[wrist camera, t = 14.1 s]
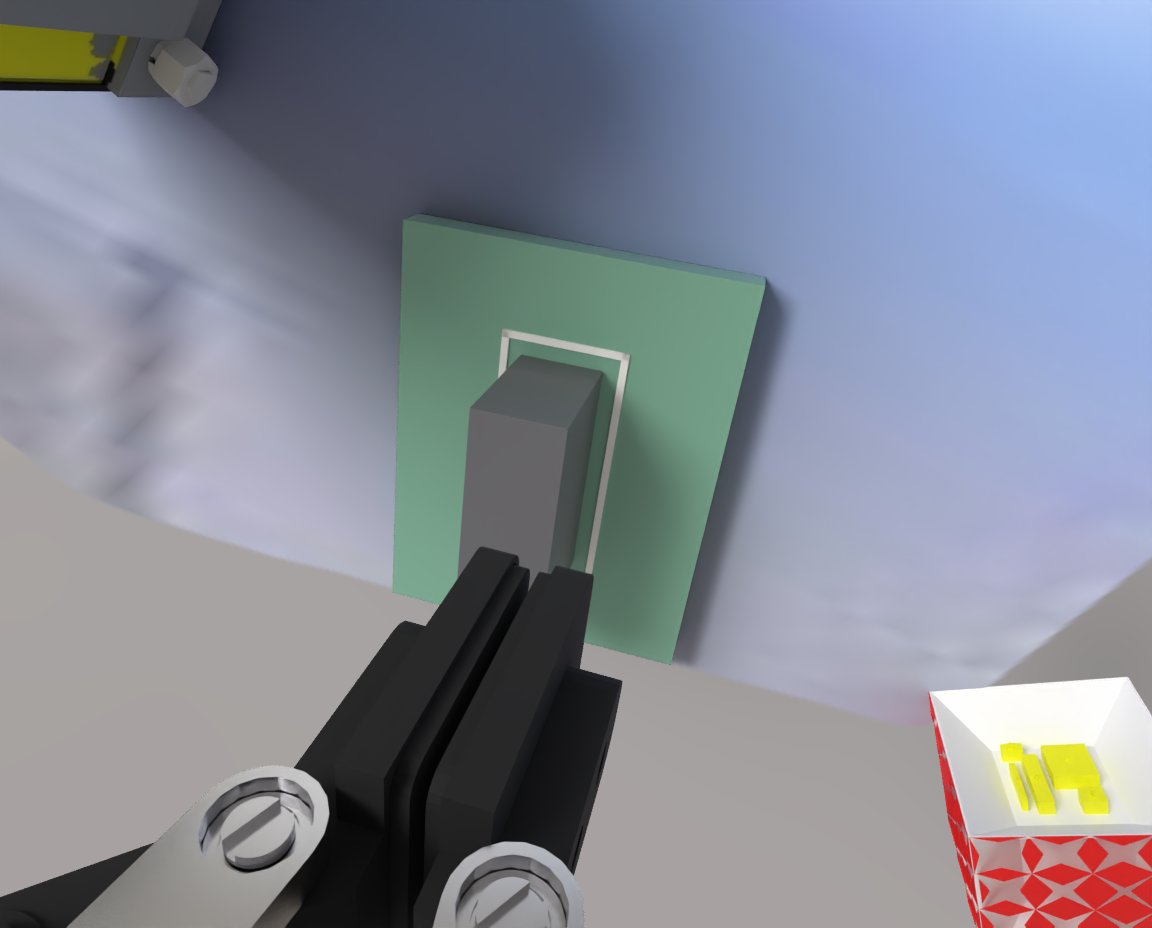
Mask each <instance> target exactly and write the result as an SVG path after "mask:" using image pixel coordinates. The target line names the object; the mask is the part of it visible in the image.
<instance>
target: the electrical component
mask: <svg viewBox="0 0 1152 928" xmlns="http://www.w3.org/2000/svg"><path fill="white" fill-rule="evenodd" d="M221 3H222V0H0V90H16V91H112V92H113V93H114V94H115V95H116V96H117V97H173V98H174V99H176V100H177V101H178V102H179V103H180V104H182V105H183V106H184V107H185V108H186V107H189V106H192V105H196V104H198V103H199V102H201V101H202V100H203V99H205V98H206V97H207V95H208V94H209V92H210V91H211V89H212V88H213V86H214V84H215V83H216V80H217V75H218V70H219V69H218V67H217V66H216V64H215V63H214V62H213V61H212V59H211V58H210V57H209V56H208V55H207V54H206V53H205V52H204V51H202V48H203V46H204V43H205V41H206V38H207V36H208V34H209V31H210V29H211V27H212V24H213V22H214V19H215V17H216V15H217V12H218V10H219V7H220V5H221Z"/></svg>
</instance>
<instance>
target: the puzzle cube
mask: <svg viewBox="0 0 1152 928" xmlns="http://www.w3.org/2000/svg"><path fill="white" fill-rule="evenodd" d="M929 693H930V694H929V699H930V708H931V716H932V719H933V717H934V720H933V723H934V727H935V734H936V740H937V748H938V754H939V759H940V766H941V773H942V779H943V785H944V792H945V799H946V806H947V813H948V820H949V824H950V828H951V831H952V835H953V838H954V842H955V845H956V848H957V857H958V861H959V865H960V868H961V872H962V875H963V878H964V882H965V884H966V888H967V892H968V893H967V898H968V903H969V906H970V909H971V913H972V916H973V919H974V922H975V924H976V927H977V928H1152V715H1151V713H1150V712H1149V710H1148V709H1147V707H1146V705H1145V704H1144V702H1143V700H1142V699H1141V697H1140V696H1139V694H1138V693H1137V691H1136V689H1135V688H1134V686H1133V684H1132V683H1131V681H1130V679H1129V678H1128V677H1117V678H1104V679H1089V680H1075V681H1061V682H1048V683H1034V684H1020V685H1005V686H991V687H987V688H977V689H963V690H949V691H935V692H929Z"/></svg>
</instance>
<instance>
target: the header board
mask: <svg viewBox="0 0 1152 928" xmlns="http://www.w3.org/2000/svg"><path fill="white" fill-rule="evenodd" d="M765 284H766V277H761V276H756V275H750V274H745V273H739V272H734V271H729V270H723V269H718V268H712V267H707V266H701V265H696V264H691V263H685V262H680V261H674V260H669V259H663V258H658V257H653V256H647V255H642V254H636V253H631V252H625V251H620V250H614V249H609V248H604V247H598V246H593V245H587V244H582V243H576V242H571V241H566V240H560V239H555V238H549V237H544V236H538V235H533V234H528V233H522V232H517V231H511V230H506V229H500V228H495V227H490V226H484V225H479V224H473V223H468V222H462V221H457V220H452V219H446V218H441V217H435V216H430V215H424V214H417V215H414V216H411V217H408V218H405V219H403V232H402V269H401V306H400V342H399V379H398V416H397V452H396V489H395V525H394V562H393V593H397V594H400V595H404V596H408V597H412V598H416V599H419V600H423V601H427V602H431V603H435V604H439V605H440V604H441V603H442V601H443V600H444V598H445V597H446V595H447V594H448V592H449V591H450V589H451V588H452V586H453V585H454V583H455V582H456V580H457V576H458V562H459V548H460V535H461V521H462V507H463V493H464V480H465V466H466V452H467V438H468V425H469V411H470V407H471V406H472V405H473V404H474V403H475V402H476V401H477V400H478V399H479V398H480V397H481V396H482V395H483V394H484V393H485V391H486V390H487V389H488V388H489V387H490V386H491V385H492V384H493V383H494V382H495V381H496V380H497V379H498V378H499V377H500V376H501V375H502V374H503V373H504V372H505V371H506V370H507V369H508V368H509V367H510V366H511V365H512V364H513V362H514V361H515V360H516V359H517V358H518V357H519V356H520V355H526V356H531V357H536V358H541V359H546V360H551V361H556V362H560V363H565V364H570V365H575V366H580V367H585V368H590V369H594V370H599V371H603V375H602V381H601V388H600V394H599V400H598V407H597V413H596V420H595V426H594V432H593V439H592V445H591V451H590V458H589V464H588V471H587V477H586V483H585V490H584V496H583V502H582V509H581V515H580V521H579V528H578V534H577V541H576V547H575V553H574V560H573V563H572V565H571V568H570V569H574V570H577V571H581V572H585V573H589V574H593V575H594V581H593V589H592V595H591V601H590V607H589V613H588V620H587V626H586V632H585V638H584V642H585V643H589V644H592V645H596V646H600V647H604V648H608V649H612V650H615V651H619V652H623V653H627V654H631V655H635V656H639V657H642V658H646V659H650V660H654V661H658V662H662V663H665V664H669V665H671V662H672V658H673V654H674V650H675V646H676V642H677V638H678V634H679V630H680V626H681V622H682V618H683V614H684V610H685V606H686V602H687V598H688V594H689V590H690V586H691V582H692V578H693V574H694V570H695V566H696V562H697V558H698V554H699V550H700V546H701V542H702V538H703V534H704V530H705V526H706V522H707V518H708V514H709V510H710V506H711V502H712V498H713V494H714V490H715V486H716V482H717V478H718V474H719V470H720V466H721V462H722V458H723V454H724V450H725V446H726V442H727V438H728V434H729V430H730V426H731V422H732V418H733V414H734V410H735V406H736V402H737V398H738V394H739V390H740V386H741V382H742V378H743V374H744V370H745V366H746V362H747V358H748V354H749V350H750V346H751V342H752V338H753V334H754V330H755V326H756V322H757V318H758V314H759V310H760V306H761V302H762V298H763V294H764V290H765Z"/></svg>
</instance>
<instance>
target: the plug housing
mask: <svg viewBox="0 0 1152 928" xmlns="http://www.w3.org/2000/svg"><path fill="white" fill-rule="evenodd" d="M602 375H603V371H599V370H594V369H590V368H585V367H580V366H575V365H570V364H565V363H560V362H556V361H551V360H546V359H541V358H536V357H531V356H526V355H520V356H519V357H518V358H517V359H516V360H515V361H514V362H513V364H512V365H511V366H510V367H509V368H508V369H507V370H506V371H505V372H504V373H503V374H502V375H501V376H500V377H499V378H498V379H497V380H496V381H495V382H494V383H493V384H492V385H491V386H490V387H489V388H488V389H487V390H486V391H485V393H484V394H483V395H482V396H481V397H480V398H479V399H478V400H477V401H476V402H475V403H474V404H473V405H472V406H471V407H470V411H469V425H468V438H467V452H466V466H465V480H464V493H463V507H462V521H461V535H460V548H459V562H458V576H457V579H458V577H459V576H460V574H461V573H462V572H463V570H464V569H465V567H466V566H467V564H468V563H469V561H470V560H471V558H472V557H473V555H474V554H475V552H476V551H477V550H478V548H479V547H482V546H483V547H487V548H491V549H495V550H499V551H503V552H507V553H511V554H515V555H517V556H518V557H519V566H521V567H525V568H528V569H529V570H530V580H529V589H530V588H531V586H532V584H533V582H534V580H535V578H536V576H537V574H538V573H539V572H544V573H548V574H551V573H552V571H553V569H554V568H555V566H557V565H558V566H562V567H566V568H571V565H572V563H573V560H574V553H575V547H576V541H577V534H578V528H579V521H580V515H581V509H582V502H583V496H584V490H585V483H586V477H587V471H588V464H589V458H590V451H591V445H592V439H593V432H594V426H595V420H596V413H597V407H598V400H599V394H600V388H601V381H602ZM529 589H528V591H529Z"/></svg>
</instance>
